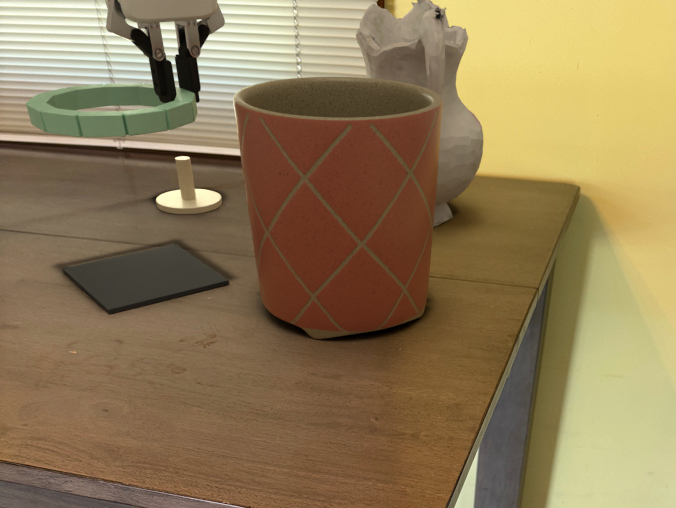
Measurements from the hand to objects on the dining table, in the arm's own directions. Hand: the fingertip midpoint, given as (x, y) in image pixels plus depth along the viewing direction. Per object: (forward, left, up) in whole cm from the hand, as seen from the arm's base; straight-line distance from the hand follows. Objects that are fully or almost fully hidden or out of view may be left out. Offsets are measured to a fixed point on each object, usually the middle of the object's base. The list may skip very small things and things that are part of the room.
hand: (179, 100), depth 79 cm
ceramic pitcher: (+31, -1, -17) cm, 36 cm away
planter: (+7, -20, -17) cm, 27 cm away
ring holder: (+8, +21, -17) cm, 28 cm away
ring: (-7, 0, -1) cm, 7 cm away
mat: (-8, -1, -17) cm, 19 cm away
